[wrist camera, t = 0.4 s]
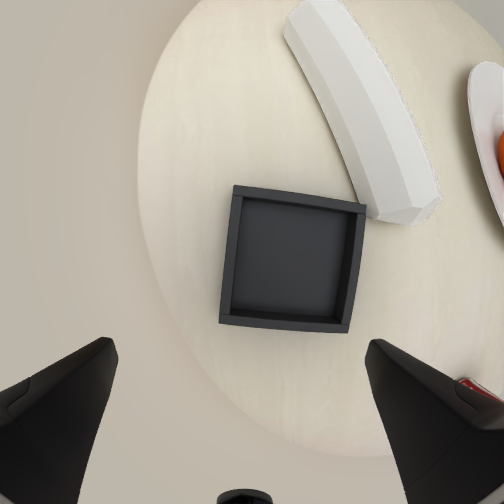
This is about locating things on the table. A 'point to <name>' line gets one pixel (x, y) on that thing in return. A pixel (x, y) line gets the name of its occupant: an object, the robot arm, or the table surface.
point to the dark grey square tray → (291, 261)
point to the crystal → (364, 113)
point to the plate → (489, 125)
